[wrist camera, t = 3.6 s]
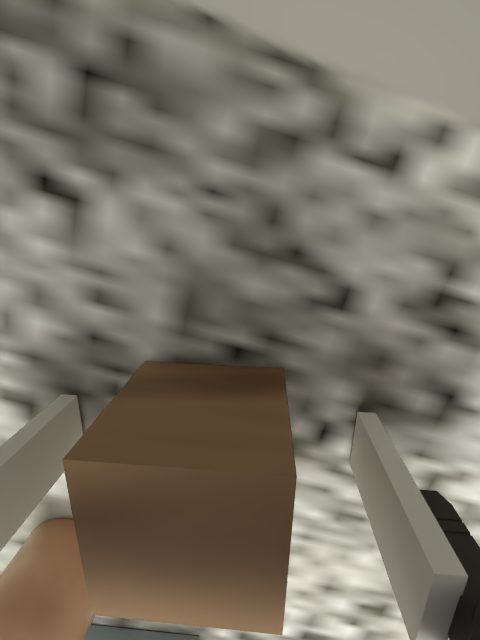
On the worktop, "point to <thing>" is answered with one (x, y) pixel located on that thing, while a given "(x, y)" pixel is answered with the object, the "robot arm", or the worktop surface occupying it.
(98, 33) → the worktop surface
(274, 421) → the walnut cube
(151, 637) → the tote
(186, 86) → the worktop surface
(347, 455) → the worktop surface
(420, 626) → the robot arm
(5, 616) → the terracotta cylinder
